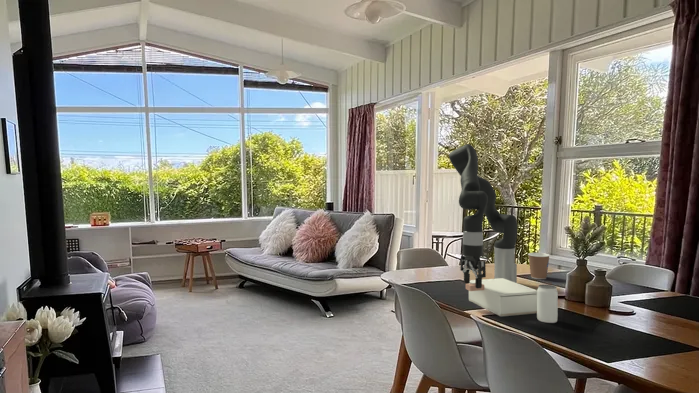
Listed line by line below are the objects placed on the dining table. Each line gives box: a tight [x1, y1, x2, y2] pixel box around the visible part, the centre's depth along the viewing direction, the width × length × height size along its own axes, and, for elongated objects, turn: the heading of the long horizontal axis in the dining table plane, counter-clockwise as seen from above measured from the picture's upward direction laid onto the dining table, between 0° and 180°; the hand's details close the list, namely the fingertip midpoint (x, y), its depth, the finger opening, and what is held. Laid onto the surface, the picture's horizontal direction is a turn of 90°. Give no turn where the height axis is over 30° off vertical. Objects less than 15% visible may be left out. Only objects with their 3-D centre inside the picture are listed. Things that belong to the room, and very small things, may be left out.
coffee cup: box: [527, 252, 551, 280], centre depth 213 cm, size 10×10×12 cm
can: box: [536, 284, 559, 324], centre depth 146 cm, size 6×6×12 cm
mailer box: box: [468, 290, 537, 318], centre depth 163 cm, size 16×22×7 cm
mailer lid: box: [465, 278, 537, 296], centre depth 162 cm, size 23×22×2 cm
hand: (472, 285), depth 160 cm, fingers open, 8 cm apart
